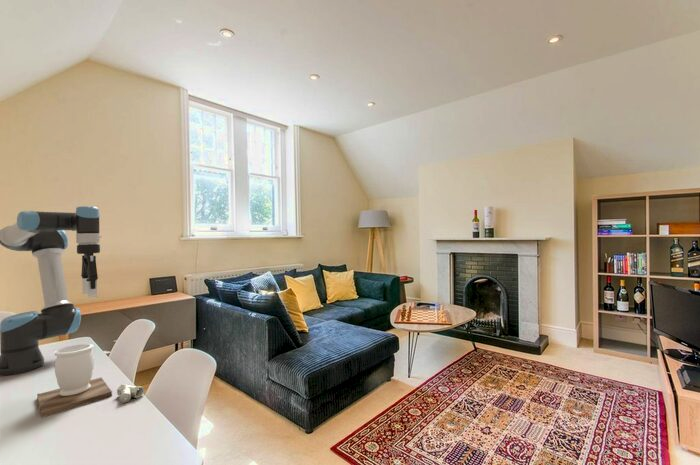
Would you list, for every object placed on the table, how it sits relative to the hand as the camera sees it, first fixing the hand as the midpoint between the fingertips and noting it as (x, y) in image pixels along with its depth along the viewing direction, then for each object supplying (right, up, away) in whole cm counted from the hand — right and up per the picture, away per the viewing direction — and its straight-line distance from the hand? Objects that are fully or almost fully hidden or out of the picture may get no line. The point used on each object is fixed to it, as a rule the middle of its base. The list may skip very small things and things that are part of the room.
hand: (89, 295), depth 137 cm
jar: (+11, -30, -20) cm, 38 cm away
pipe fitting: (+31, -31, -24) cm, 50 cm away
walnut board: (+12, -31, -22) cm, 40 cm away
